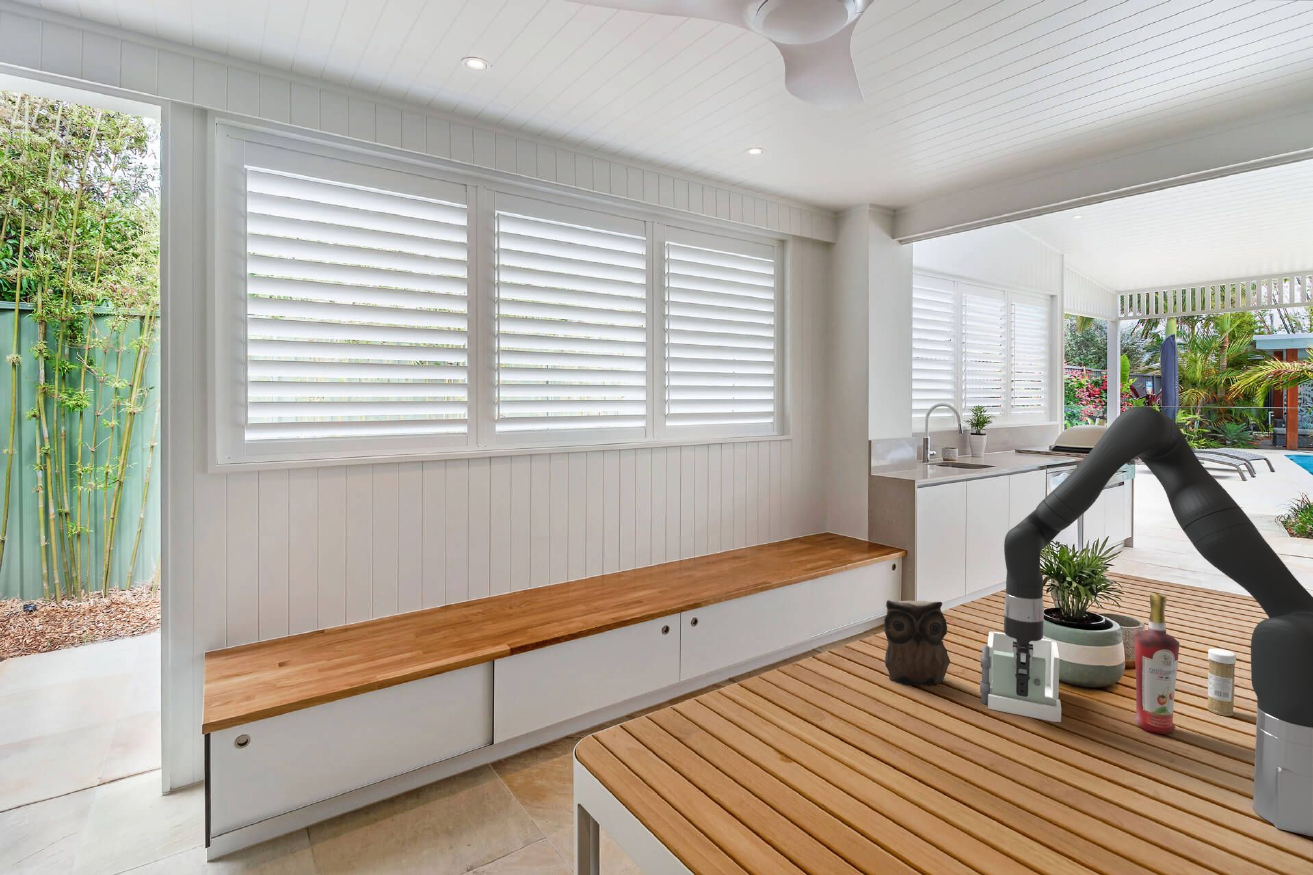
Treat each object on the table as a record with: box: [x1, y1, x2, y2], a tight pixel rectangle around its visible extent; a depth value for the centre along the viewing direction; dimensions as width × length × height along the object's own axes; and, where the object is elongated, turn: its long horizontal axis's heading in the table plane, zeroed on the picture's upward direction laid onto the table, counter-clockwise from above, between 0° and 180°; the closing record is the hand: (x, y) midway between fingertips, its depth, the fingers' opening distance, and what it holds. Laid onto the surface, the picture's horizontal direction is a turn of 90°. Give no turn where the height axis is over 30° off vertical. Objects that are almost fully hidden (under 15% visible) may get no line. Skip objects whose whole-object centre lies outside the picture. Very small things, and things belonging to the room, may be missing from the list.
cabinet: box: [979, 630, 1062, 723], centre depth 148 cm, size 18×16×13 cm
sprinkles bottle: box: [1206, 648, 1237, 717], centre depth 141 cm, size 5×5×14 cm
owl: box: [883, 599, 951, 687], centre depth 158 cm, size 13×13×20 cm
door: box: [992, 650, 1046, 705], centre depth 142 cm, size 3×10×12 cm, turn 61°
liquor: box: [1133, 593, 1180, 735], centre depth 133 cm, size 7×7×28 cm
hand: (1021, 689), depth 142 cm, fingers open, 6 cm apart
